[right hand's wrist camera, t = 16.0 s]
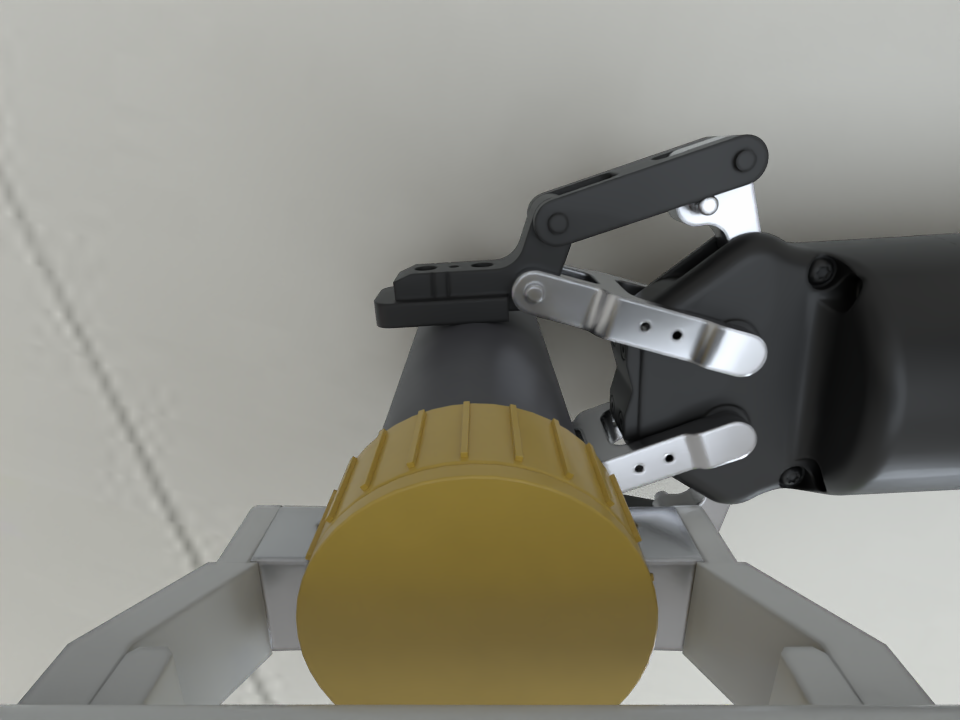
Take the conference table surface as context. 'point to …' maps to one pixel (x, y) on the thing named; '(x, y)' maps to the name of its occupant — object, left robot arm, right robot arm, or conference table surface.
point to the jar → (480, 370)
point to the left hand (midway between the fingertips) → (392, 390)
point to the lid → (477, 569)
